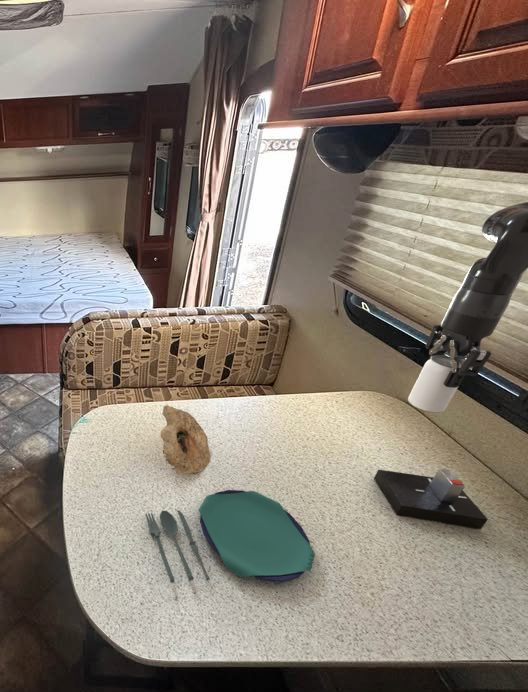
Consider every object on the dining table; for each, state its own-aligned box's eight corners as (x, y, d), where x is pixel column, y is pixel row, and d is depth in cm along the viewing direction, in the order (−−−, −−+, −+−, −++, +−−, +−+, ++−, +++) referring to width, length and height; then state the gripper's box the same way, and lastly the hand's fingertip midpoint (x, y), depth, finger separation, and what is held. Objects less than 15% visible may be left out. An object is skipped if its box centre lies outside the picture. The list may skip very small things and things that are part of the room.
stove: (448, 489, 82) (454, 479, 81) (480, 529, 74) (488, 519, 72) (373, 478, 86) (378, 468, 84) (396, 515, 77) (402, 504, 76)
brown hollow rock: (206, 487, 93) (223, 477, 87) (152, 478, 92) (165, 466, 86) (195, 424, 105) (208, 410, 99) (146, 415, 104) (157, 401, 98)
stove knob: (428, 485, 80) (439, 467, 78) (440, 486, 79) (451, 469, 77) (441, 501, 76) (453, 483, 74) (453, 503, 76) (465, 485, 73)
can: (440, 402, 88) (464, 358, 82) (447, 417, 83) (473, 372, 78) (404, 394, 91) (425, 351, 86) (409, 408, 87) (431, 364, 81)
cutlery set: (335, 582, 66) (339, 575, 65) (170, 597, 65) (171, 589, 64) (269, 492, 84) (272, 485, 83) (139, 502, 83) (140, 495, 82)
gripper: (528, 325, 69) (483, 398, 77) (474, 298, 81) (440, 363, 89) (477, 322, 71) (438, 394, 79) (431, 296, 83) (402, 360, 91)
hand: (439, 377), depth 84 cm, fingers closed on can, 6 cm apart
